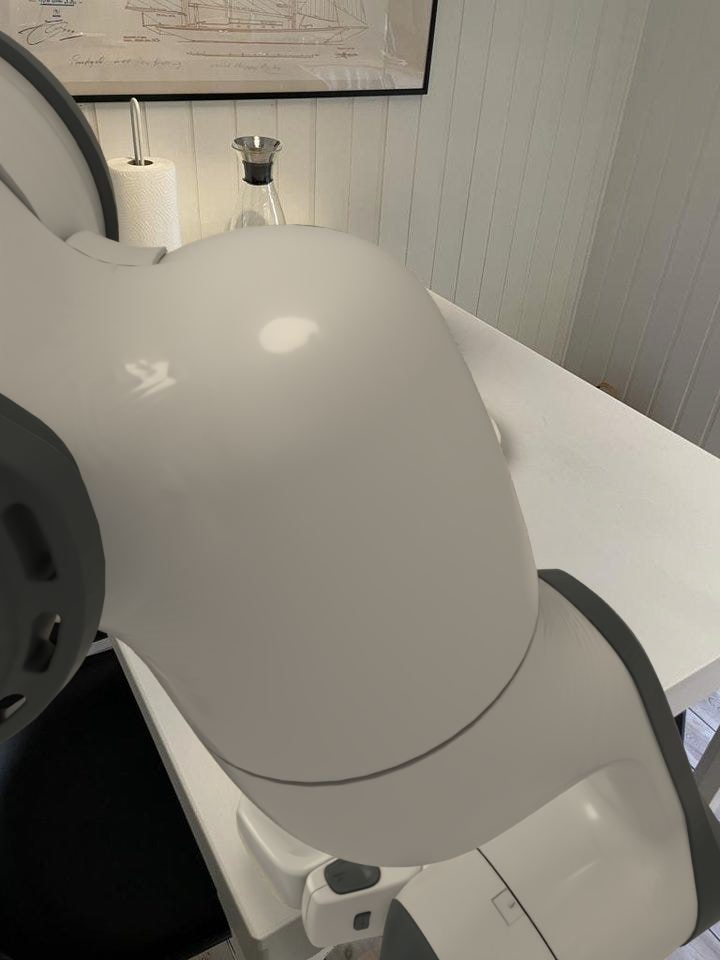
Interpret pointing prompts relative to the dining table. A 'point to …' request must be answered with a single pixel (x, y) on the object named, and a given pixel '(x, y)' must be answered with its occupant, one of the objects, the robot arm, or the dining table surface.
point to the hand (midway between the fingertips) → (328, 701)
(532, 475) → the dining table surface
